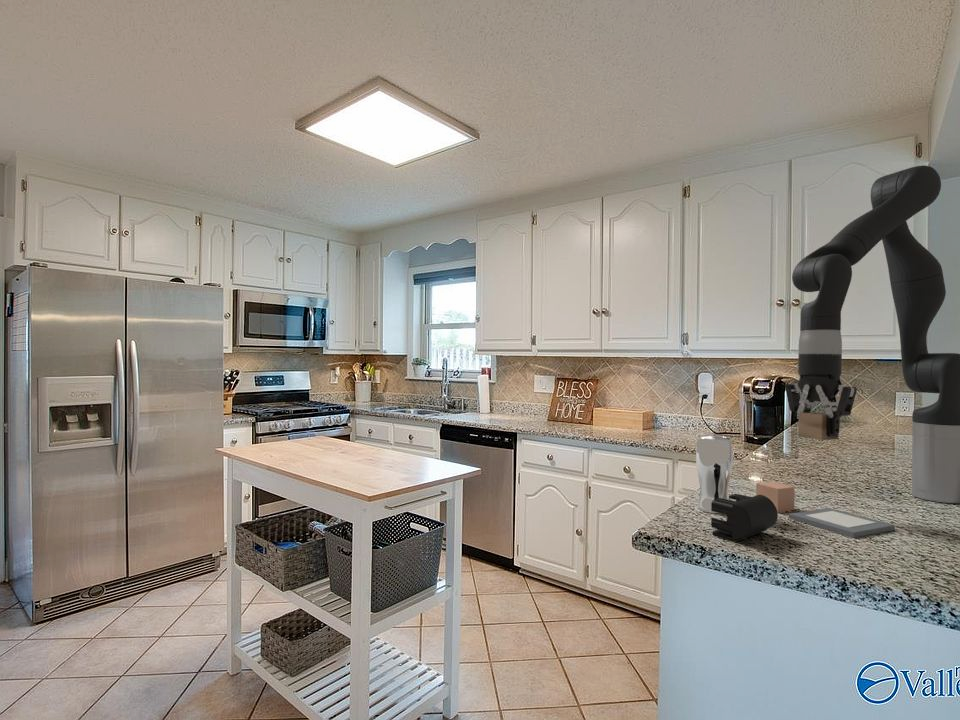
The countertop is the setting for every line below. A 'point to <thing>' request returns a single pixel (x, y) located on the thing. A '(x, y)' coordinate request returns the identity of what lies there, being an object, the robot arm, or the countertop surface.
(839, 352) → the robot arm
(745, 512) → the end cap
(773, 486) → the terracotta block
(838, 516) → the plate
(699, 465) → the beer glass
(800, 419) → the walnut block
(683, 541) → the countertop surface
